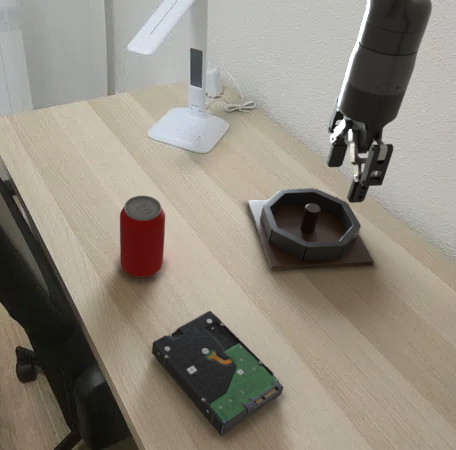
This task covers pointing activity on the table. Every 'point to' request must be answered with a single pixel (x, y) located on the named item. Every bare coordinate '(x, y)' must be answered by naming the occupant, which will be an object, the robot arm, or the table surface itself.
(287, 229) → the stand
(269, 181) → the table surface
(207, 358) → the disk drive
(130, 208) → the beverage can
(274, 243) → the ring
